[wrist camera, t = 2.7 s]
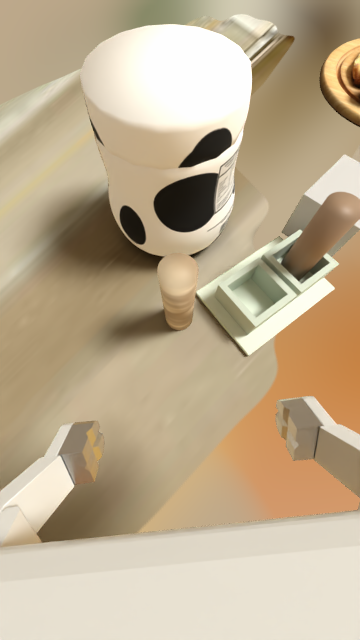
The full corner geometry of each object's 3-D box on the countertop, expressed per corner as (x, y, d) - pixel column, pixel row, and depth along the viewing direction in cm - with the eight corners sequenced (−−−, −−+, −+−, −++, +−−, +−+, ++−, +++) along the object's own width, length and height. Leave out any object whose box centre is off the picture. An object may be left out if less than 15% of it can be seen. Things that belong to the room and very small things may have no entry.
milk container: (115, 188, 39) (65, 27, 23) (213, 175, 40) (237, 11, 23) (124, 275, 34) (66, 147, 17) (239, 257, 35) (294, 119, 18)
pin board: (247, 356, 30) (292, 325, 18) (195, 293, 33) (203, 231, 21) (332, 290, 33) (418, 226, 21) (277, 238, 36) (325, 157, 24)
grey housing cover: (325, 262, 34) (360, 228, 28) (281, 232, 36) (303, 194, 30) (360, 223, 37) (399, 184, 30) (316, 196, 39) (344, 154, 32)
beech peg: (176, 335, 31) (172, 296, 19) (160, 314, 32) (149, 266, 20) (197, 320, 31) (206, 273, 20) (181, 300, 32) (182, 246, 21)
